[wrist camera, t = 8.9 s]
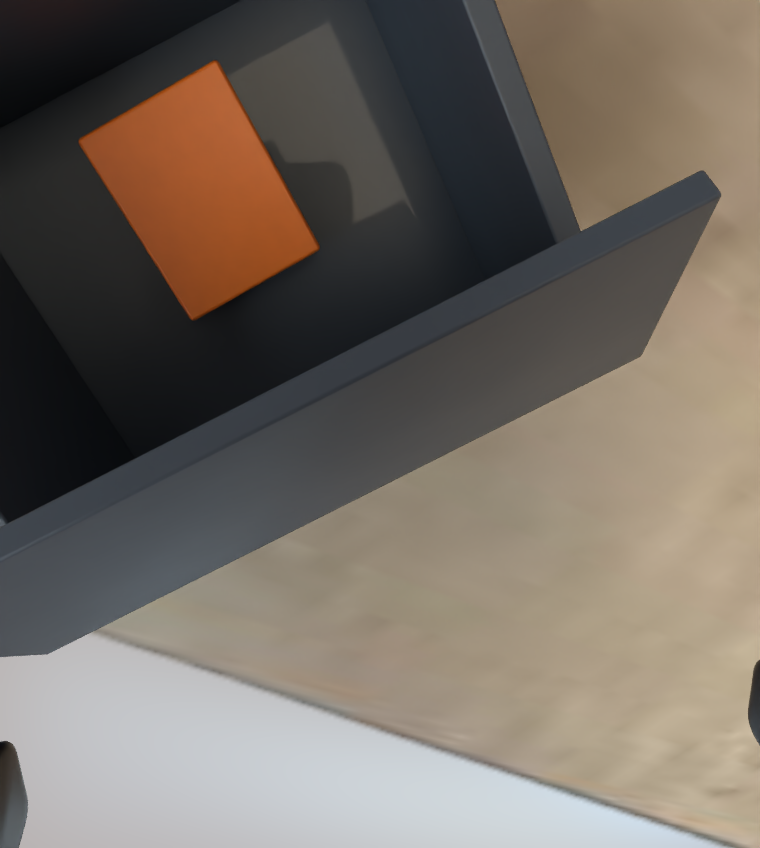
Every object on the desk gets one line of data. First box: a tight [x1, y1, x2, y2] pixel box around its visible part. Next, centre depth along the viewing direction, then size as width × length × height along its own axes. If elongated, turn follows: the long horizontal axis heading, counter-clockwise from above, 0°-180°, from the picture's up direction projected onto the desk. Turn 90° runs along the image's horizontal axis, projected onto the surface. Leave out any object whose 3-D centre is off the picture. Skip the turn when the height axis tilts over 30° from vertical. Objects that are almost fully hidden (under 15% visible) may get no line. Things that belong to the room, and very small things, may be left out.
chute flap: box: [0, 170, 721, 657], centre depth 10 cm, size 5×12×1 cm
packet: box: [78, 60, 320, 321], centre depth 17 cm, size 4×4×2 cm
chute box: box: [0, 0, 581, 527], centre depth 15 cm, size 10×12×8 cm
